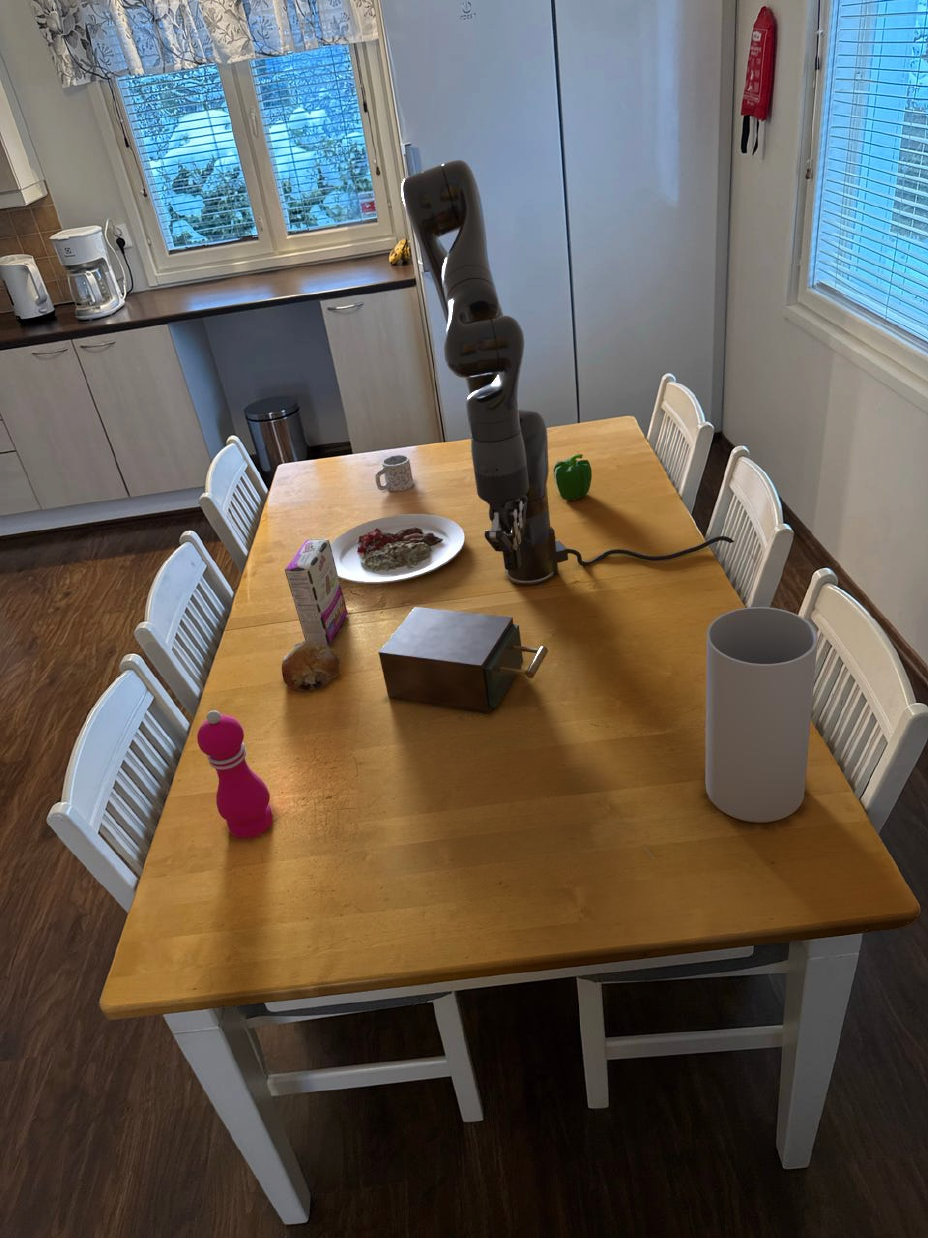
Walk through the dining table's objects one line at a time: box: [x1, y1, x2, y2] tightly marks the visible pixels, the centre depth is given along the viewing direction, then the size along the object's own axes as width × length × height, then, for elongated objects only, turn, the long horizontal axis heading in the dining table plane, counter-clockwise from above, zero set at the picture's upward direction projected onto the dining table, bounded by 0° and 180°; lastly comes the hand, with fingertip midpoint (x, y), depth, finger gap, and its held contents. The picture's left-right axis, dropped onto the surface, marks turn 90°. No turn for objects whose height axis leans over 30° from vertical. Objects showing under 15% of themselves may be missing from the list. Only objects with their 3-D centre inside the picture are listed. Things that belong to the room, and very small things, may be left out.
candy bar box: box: [284, 538, 349, 646], centre depth 166 cm, size 11×5×16 cm, turn 168°
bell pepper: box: [553, 453, 593, 501], centre depth 202 cm, size 8×8×10 cm
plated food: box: [330, 513, 466, 584], centre depth 192 cm, size 30×30×3 cm
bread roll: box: [281, 641, 340, 692], centre depth 157 cm, size 10×10×8 cm
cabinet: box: [378, 606, 514, 715], centre depth 149 cm, size 18×14×9 cm
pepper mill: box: [196, 709, 274, 840], centre depth 123 cm, size 7×7×20 cm
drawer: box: [484, 623, 549, 709], centre depth 147 cm, size 22×13×7 cm, turn 67°
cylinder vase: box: [704, 606, 819, 824], centre depth 114 cm, size 12×12×25 cm
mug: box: [374, 454, 414, 492], centre depth 221 cm, size 10×7×7 cm, turn 133°
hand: (513, 568), depth 138 cm, fingers closed
